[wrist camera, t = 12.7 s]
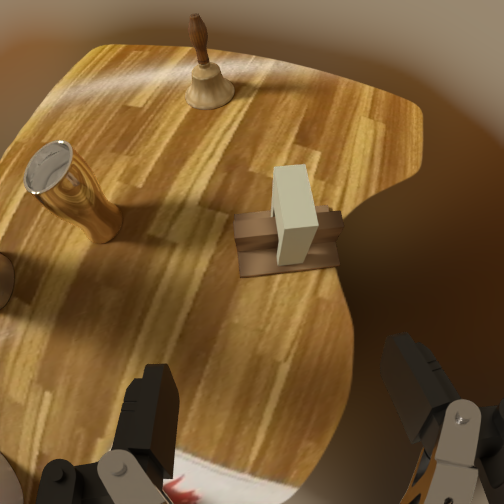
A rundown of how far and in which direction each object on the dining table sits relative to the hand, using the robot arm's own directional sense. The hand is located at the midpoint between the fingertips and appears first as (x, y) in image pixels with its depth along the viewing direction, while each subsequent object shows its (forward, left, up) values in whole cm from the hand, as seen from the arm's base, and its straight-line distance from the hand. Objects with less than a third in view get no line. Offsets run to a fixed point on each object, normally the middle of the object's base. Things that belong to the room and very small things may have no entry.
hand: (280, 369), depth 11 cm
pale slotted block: (-9, +12, -24) cm, 29 cm away
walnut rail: (-9, +12, -25) cm, 29 cm away
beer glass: (-28, -4, -25) cm, 38 cm away
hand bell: (-36, +22, -25) cm, 49 cm away
